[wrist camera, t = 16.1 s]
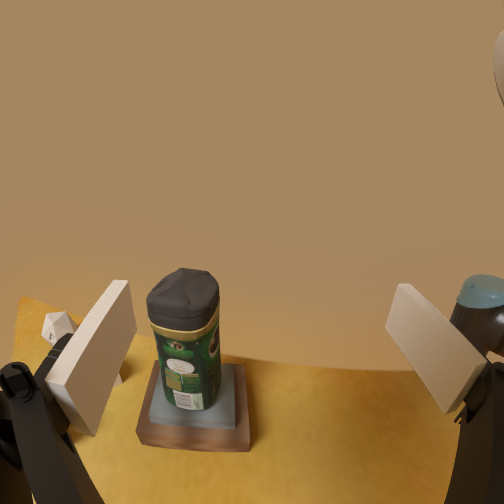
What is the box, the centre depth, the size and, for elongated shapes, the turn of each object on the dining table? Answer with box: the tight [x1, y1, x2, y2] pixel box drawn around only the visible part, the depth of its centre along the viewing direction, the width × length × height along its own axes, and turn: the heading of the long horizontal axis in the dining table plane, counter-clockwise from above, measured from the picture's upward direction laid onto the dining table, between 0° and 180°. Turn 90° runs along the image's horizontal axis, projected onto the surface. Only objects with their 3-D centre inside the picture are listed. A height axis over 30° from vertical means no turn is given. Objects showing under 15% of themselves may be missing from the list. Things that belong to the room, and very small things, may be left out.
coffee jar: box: [146, 268, 222, 411], centre depth 34 cm, size 10×8×19 cm
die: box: [42, 312, 78, 347], centre depth 48 cm, size 8×9×10 cm
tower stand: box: [136, 360, 250, 452], centre depth 39 cm, size 16×16×6 cm
